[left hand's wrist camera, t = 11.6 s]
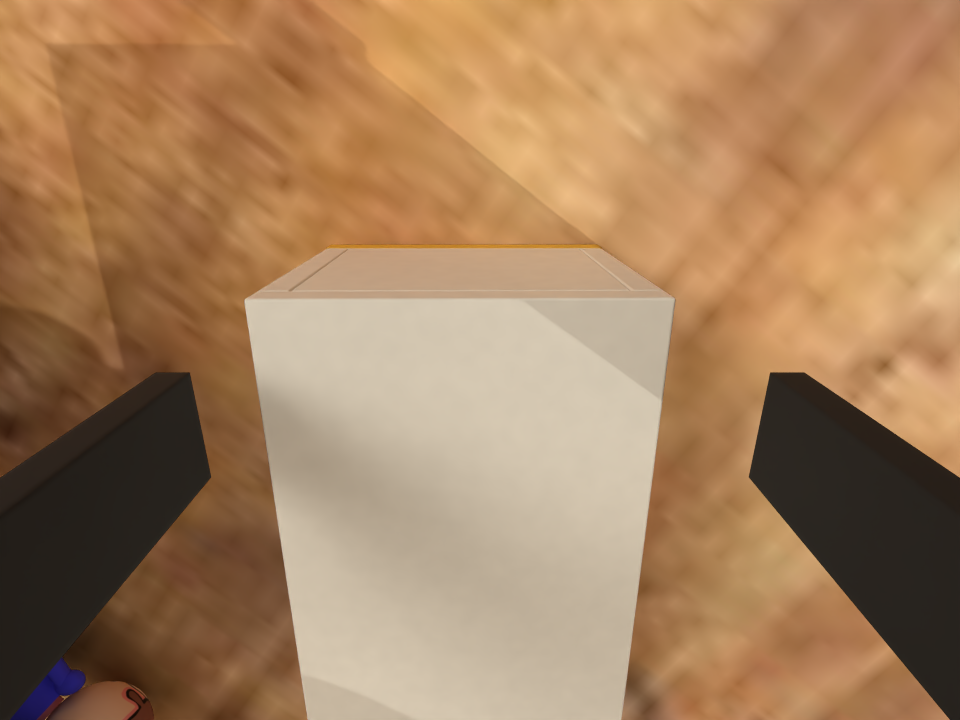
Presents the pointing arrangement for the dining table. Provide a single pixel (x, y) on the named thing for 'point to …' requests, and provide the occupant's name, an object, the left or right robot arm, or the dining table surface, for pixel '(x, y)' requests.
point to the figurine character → (83, 699)
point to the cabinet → (462, 474)
